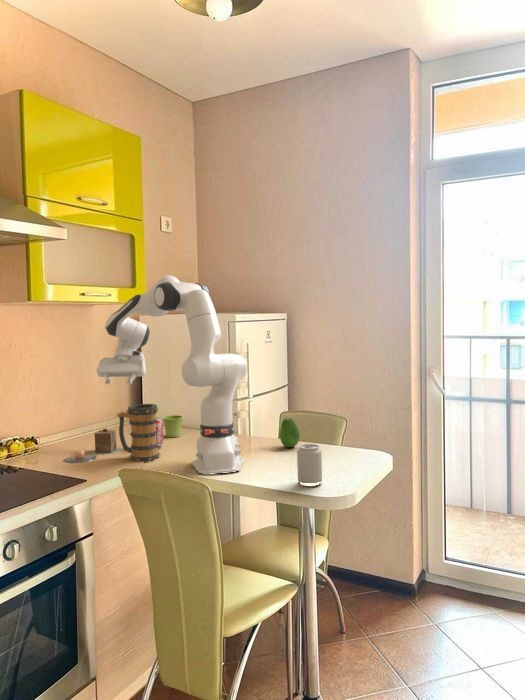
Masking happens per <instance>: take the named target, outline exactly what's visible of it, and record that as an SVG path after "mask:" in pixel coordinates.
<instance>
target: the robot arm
mask: <svg viewBox="0 0 525 700" xmlns="http://www.w3.org/2000/svg"><path fill="white" fill-rule="evenodd" d="M170 311H173V312H174V311H175V312H183V313H184V315H185V321H186V323H187V329H188V334H189V338H190V352H189V354H188V356H187V357H186V359H185V361H184V362H183V363H182V366H181V370H180V371H181V372H180V373H181V377H182V379H183V381H184V383H185V384H186V385H187V386H190V387H199V388H204V387H211V388H210V391H209V393H208V394H207V395H206V397H204V398H203V399H202V401H201V403H200V420H201V421H200V422H201V424H200V428H199V432H200V434H199V435H200V437H198V439H197V440H196V454H195V455H196V459H194V460H192V461H191V465H192V466H193V468H194V467H195V468H194V469H195V470H196V472H197V471H198V472H199V473H202V474H201V475H211V474H210V473H223V472H233V471H238V470H240V469H241V470H242V468H241V467H243V466H242V464H243V465H244V463H243V462H245V458H244V457H242V456H241V449H240V443H239V438H238V437H237V436H236V435H235V434H234V433H235V426H234V422H233V401H234V396H235V393H236V390H237V389H238V388H237V387H238V385H239V384H240V383H241V381H243V379H244V378H245V376H246V375H247V367H248V366H247V361H246V360H245V359H244V357H243V356H242V355H240V354H236V353H217V354H216V353H215V351H214V350H215V348H214V347H215V345H216V344H217V343H218V342H219V341H220V339H221V337H222V332H221V331H222V330H221V327H220V323H219V320H218V315H217V313H216V311H217V310H216V308H215V307H214V304H213V301H212V299H211V294H210V291H209V288H208V287H207V286H206V285H204V284H202V283H198V282H195V283H193V282H185V281H180V280H179V279H178V278H177V277H175V276H173V275H170V274H169V275H167V274H166V275H164V276H162V277H161V278H160V279H158V280H157V281H156V282H155V283H154V284H153V285H152V286H151V288H150V289H149V290H148V291H147V292H144V293H141V294H140V293H139V294H136V295H134V296H133V297H131V298H130V299H129V300H128V301H126V302H125V303H124V304H123V305H122V306H121V307H119V309H118V310H116V311H114V312H113V313H111V314H110V316H109V317H108V318H107V320H106V323H105V327H104V328H105V330H106V332H107V334H108V335H109V336H113V337H116V338H118V340H117V347H116V348H115V351H114V356H113V357H104V358H101V359H100V360H99V364H98V366H97V368H96V374H97V376H98V377H99V378H104V379H105V381H104V383H105V385H110V383H111V379H109V378H111V377H112V378H120V377H121V378H122V377H123V378H124V377H127V381H126V382H127V384H128V385H133V382H134V380H135V379H136V378H137V377H144V376H146V373H147V366H146V358H145V355H144V354H143V352H141V351H137V350H138V349H141V348H142V347H144V346H146V344H147V342H148V341H149V336H150V333H151V332H150V331H151V330H150V328H149V326H148V325H147V324H146V323H144V322H140V321H139V320H136V319H134V318H131V317H130V316H131V315H133V314H139V315H140V314H141V315H147V316H151V317H162V316H164V315H166V314H168V313H169V312H170ZM128 377H129V378H128ZM241 470H240V471H241ZM198 472H197V473H198ZM199 473H198V474H199Z"/></svg>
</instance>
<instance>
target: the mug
mask: <svg viewBox="0 0 525 700" xmlns="http://www.w3.org/2000/svg"><path fill="white" fill-rule="evenodd" d="M127 407H128V408H127V410H125V411H120V412H118V413H117V414H116V417H118V418H119V427H118V430H119V431H118V432H119V435H118V436H119V441H120V443H121V446H122V449H123V450H124V451H125V452H127V453H130V455H129V457H128V458H127V459H128V460H130V461H133V462H144V463H149V462H148V461H151V462H154V461H153V460H155V459H158V458H159V459H160V458H161V453H160V452H159V451H158V450H159V449H157V447H158V445H157V444H158V443H157V442H156V434H157V433H158V432H156V430H155V429H156V421H157V419H156V418H157V413H158V411H159V407H158V405H157V404H156V403H155V404H154V403H138V404H132V405H129V406H127ZM125 418H127V419H129V425H131V432H130V433H129V435H130V436H131V446H130V447H129V446H128V444H127V441H126V438H125V433H124V431H125V430H124V425H125ZM159 459H158V460H159ZM155 461H156V460H155Z"/></svg>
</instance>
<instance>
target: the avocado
mask: <svg viewBox="0 0 525 700" xmlns="http://www.w3.org/2000/svg"><path fill="white" fill-rule="evenodd" d="M281 422H282V423H281V424H280V425H281V426H280V430H279V438H280V442H281V443H282V445H283V446H284V447H285V446H286V447H285V448H287V447H291V448H294V447H295V446H297V444H298V443H299V441H300V438H301V435H300V434H301V433H300V430H299V428H298V426H297V423H295V422H296V421H294V419H293V418H292V417H285V418H284V419H283V420H282V421H281ZM293 446H294V447H293Z"/></svg>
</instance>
